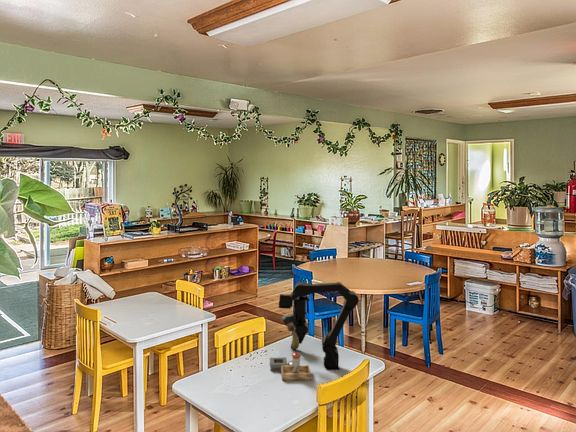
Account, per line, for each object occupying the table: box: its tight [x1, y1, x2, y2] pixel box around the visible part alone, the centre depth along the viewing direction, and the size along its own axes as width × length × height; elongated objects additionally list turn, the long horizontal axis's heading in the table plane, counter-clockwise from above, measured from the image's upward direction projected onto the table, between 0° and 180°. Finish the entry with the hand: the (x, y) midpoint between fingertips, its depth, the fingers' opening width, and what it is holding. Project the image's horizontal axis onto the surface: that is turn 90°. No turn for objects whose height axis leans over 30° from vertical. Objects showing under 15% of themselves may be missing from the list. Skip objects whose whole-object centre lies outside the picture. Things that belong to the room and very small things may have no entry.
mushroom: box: [286, 322, 300, 351], centre depth 236 cm, size 9×9×15 cm
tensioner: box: [269, 357, 292, 372], centre depth 215 cm, size 14×8×3 cm, turn 95°
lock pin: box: [291, 351, 301, 374], centre depth 206 cm, size 4×4×10 cm
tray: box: [280, 364, 312, 382], centre depth 206 cm, size 13×9×3 cm
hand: (299, 340), depth 216 cm, fingers open, 9 cm apart
